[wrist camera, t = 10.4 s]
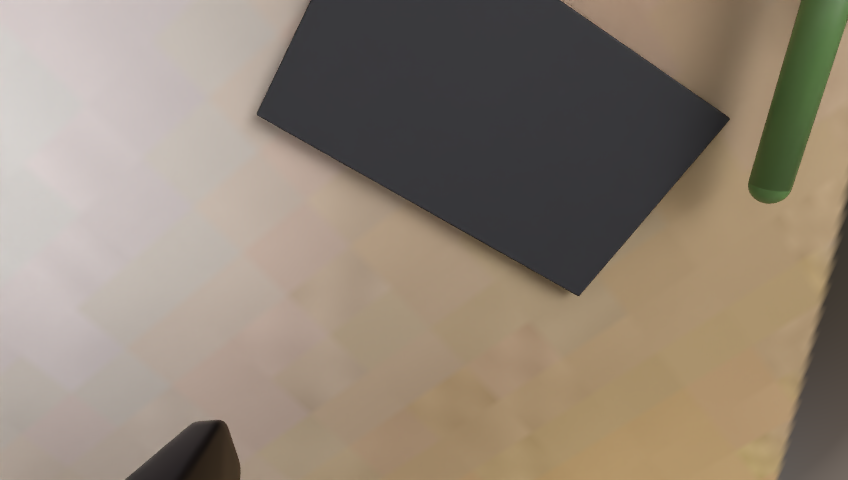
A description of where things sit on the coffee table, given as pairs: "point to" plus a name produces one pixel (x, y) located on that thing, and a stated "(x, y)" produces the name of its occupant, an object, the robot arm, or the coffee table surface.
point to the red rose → (797, 97)
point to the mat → (495, 120)
